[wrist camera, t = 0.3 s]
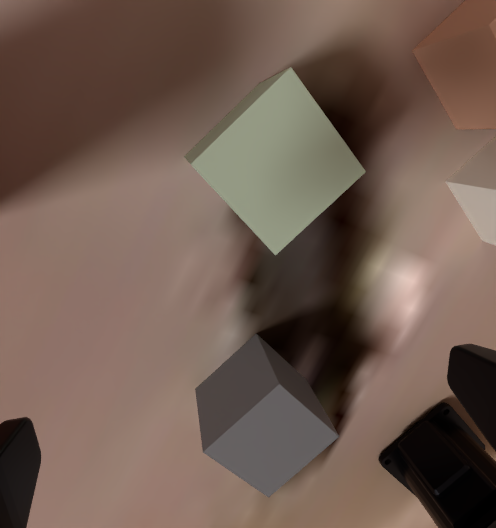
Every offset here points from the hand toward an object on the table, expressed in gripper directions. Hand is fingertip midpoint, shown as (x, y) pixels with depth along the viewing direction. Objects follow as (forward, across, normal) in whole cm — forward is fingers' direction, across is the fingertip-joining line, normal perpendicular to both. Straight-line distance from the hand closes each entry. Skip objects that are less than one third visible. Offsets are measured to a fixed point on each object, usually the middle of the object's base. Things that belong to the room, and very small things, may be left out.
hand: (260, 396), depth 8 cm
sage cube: (+13, -3, -4) cm, 14 cm away
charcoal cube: (+13, -2, +9) cm, 16 cm away
